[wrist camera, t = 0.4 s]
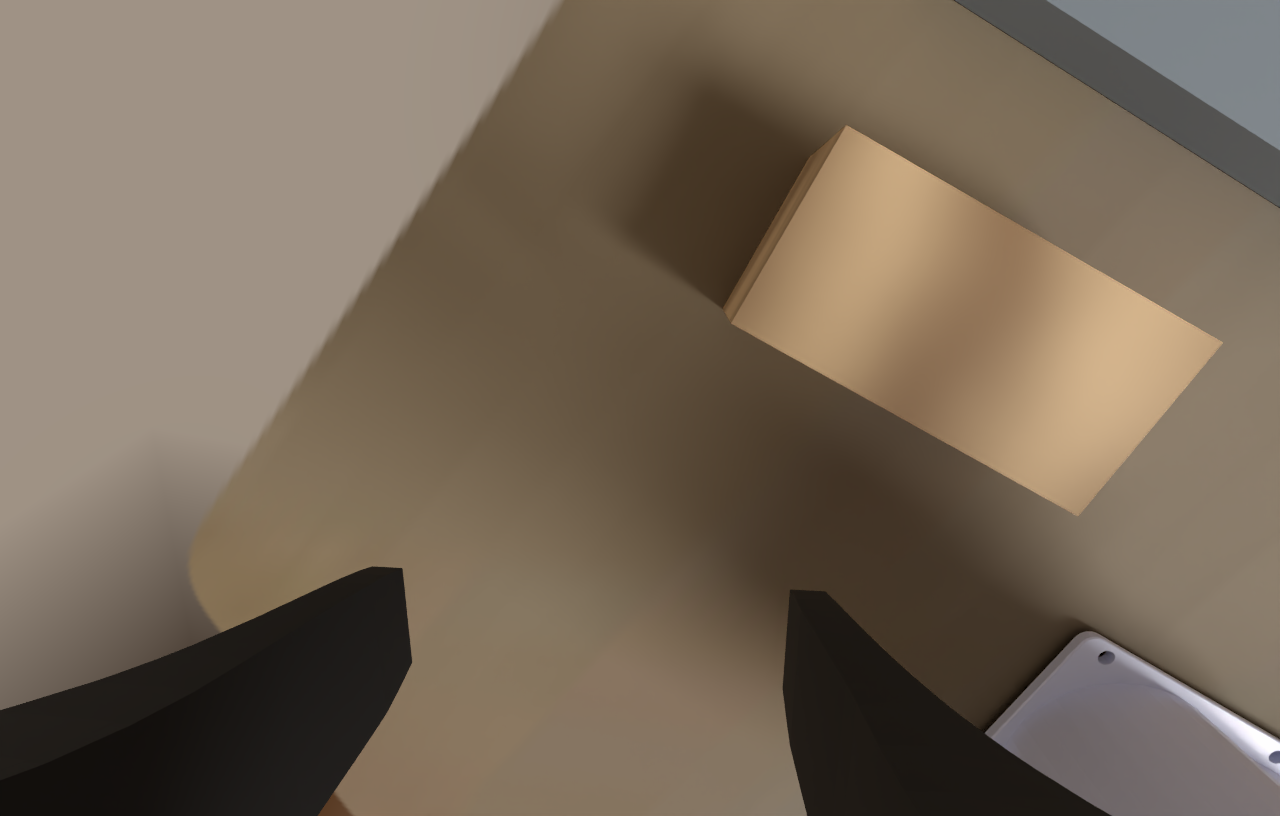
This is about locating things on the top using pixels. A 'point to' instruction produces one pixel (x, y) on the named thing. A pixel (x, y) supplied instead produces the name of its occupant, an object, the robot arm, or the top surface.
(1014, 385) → the oak bar
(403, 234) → the top surface
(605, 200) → the top surface
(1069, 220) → the top surface
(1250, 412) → the top surface
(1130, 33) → the slate board
